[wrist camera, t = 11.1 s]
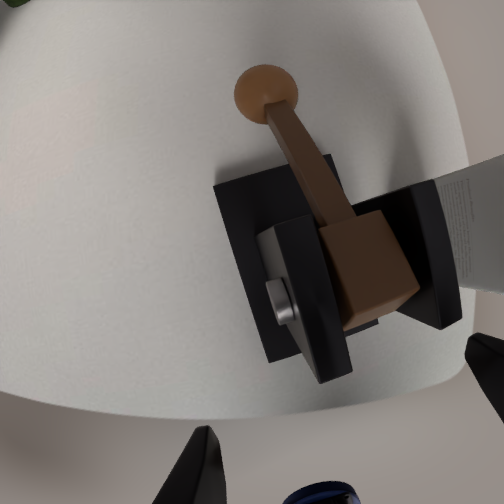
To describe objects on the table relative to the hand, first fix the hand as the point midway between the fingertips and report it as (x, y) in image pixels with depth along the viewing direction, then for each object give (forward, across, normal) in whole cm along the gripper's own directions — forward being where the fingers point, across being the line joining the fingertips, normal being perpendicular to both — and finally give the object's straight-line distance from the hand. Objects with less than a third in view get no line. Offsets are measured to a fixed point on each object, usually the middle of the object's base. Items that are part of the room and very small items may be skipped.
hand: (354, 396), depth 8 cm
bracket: (+13, -1, 0) cm, 13 cm away
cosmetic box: (+13, -10, +1) cm, 17 cm away
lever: (+7, -1, -5) cm, 9 cm away
